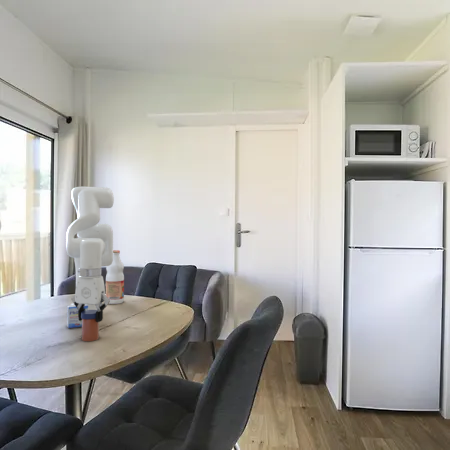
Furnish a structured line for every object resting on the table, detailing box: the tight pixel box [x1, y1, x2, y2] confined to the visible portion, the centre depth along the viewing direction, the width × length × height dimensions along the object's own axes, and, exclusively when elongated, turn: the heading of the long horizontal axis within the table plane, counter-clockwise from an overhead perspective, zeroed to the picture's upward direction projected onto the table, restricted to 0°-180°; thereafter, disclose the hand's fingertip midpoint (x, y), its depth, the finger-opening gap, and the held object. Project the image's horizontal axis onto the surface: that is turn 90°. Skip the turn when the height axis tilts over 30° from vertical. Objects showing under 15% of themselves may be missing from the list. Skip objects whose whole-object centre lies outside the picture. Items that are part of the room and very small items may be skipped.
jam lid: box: [81, 310, 97, 319], centre depth 138 cm, size 7×7×2 cm
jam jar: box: [81, 318, 100, 342], centre depth 138 cm, size 6×6×10 cm
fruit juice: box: [105, 249, 125, 305], centre depth 200 cm, size 9×9×28 cm
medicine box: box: [66, 304, 88, 329], centre depth 155 cm, size 8×4×9 cm, turn 117°
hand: (90, 320), depth 138 cm, fingers closed on jam lid, 6 cm apart
